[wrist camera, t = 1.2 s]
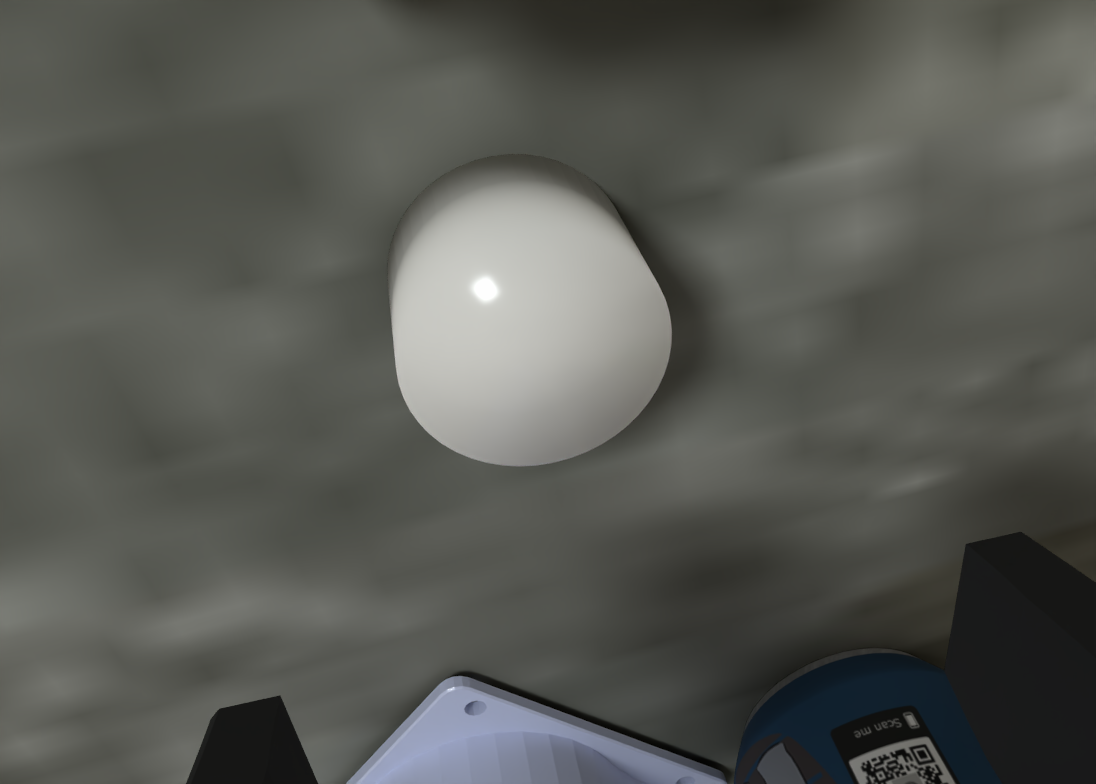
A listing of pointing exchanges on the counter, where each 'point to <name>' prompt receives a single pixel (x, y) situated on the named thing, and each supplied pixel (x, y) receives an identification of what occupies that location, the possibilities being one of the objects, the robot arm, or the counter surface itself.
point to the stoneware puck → (523, 313)
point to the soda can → (862, 726)
